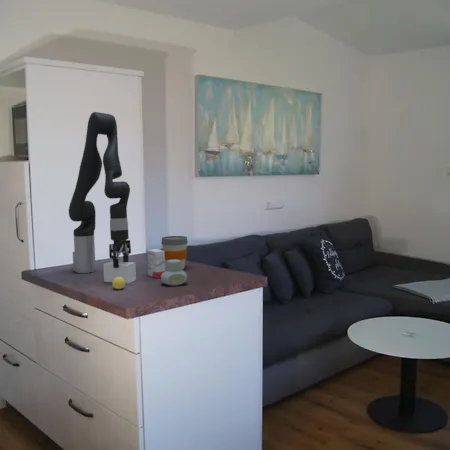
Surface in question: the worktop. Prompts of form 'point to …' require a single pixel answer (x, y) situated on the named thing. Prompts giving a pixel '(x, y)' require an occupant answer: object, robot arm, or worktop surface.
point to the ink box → (156, 262)
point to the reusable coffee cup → (175, 249)
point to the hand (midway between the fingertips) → (121, 266)
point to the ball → (118, 282)
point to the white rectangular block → (120, 271)
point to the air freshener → (174, 273)
